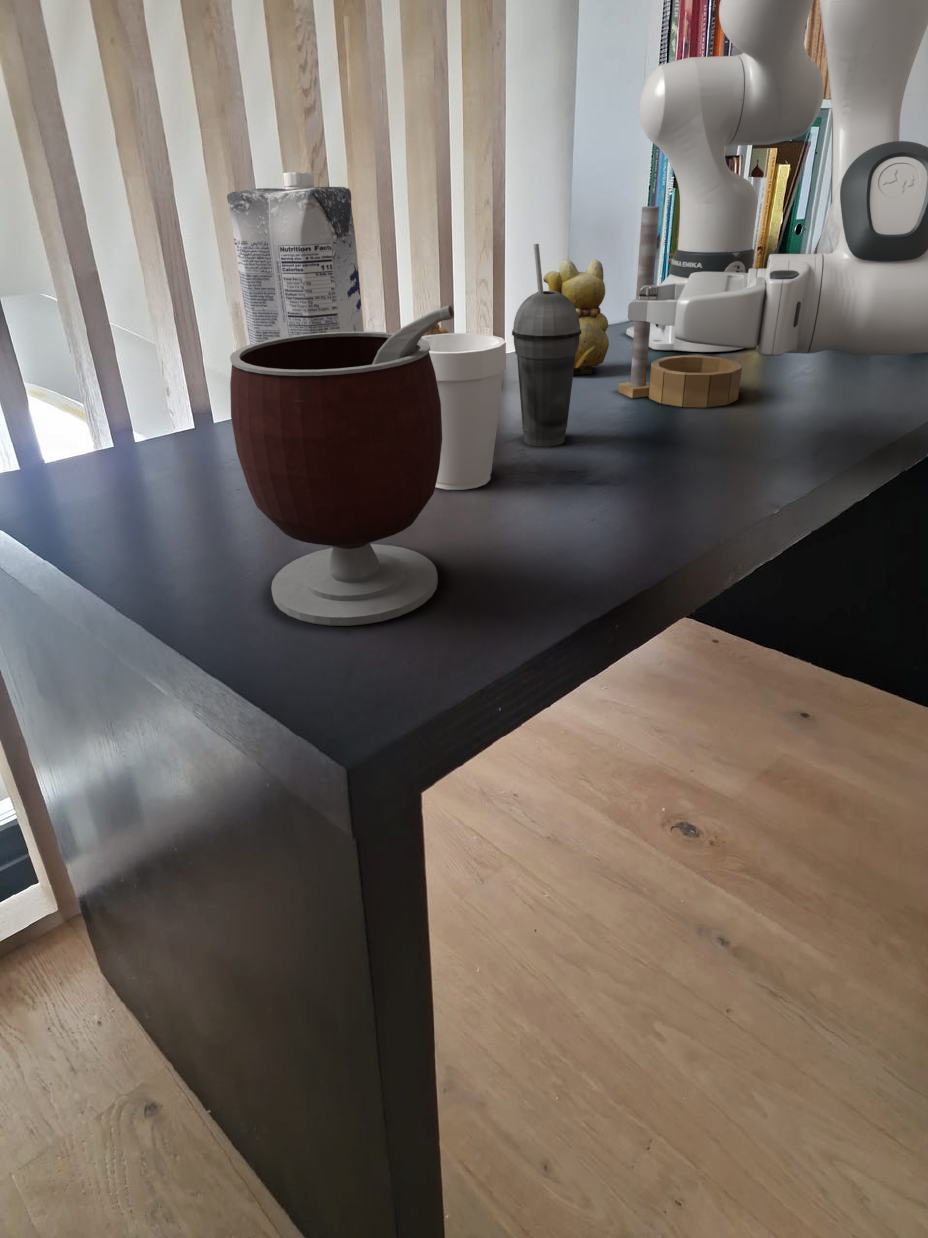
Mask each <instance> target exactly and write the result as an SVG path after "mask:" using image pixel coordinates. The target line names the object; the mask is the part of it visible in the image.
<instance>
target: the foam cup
mask: <svg viewBox="0 0 928 1238" xmlns="http://www.w3.org/2000/svg"><path fill="white" fill-rule="evenodd" d="M421 339H423V340H425V341H427V342H428V343H429V345H430V351H429V353H430V357H431V360H432V364H433V367H434V371H435V375H436V381H437V386H438V391H439V397H440V402H441V420H442V447H441V456H440V466H439V472H438V477H437V481H436V486H435V489H442V490H446V491H449V490H450V491H464V490H469V489H470V490H471V489H476V488H479V487H482V486H485V485H487V484H488V482H490V481H491V474H492V470H493V463H494V455H495V445H496V439H497V437H496V436H497V429H498V423H499V413H500V406H501V405H500V404H501V396H502V388H503V379H504V371H505V370H506V369H507V342H506V341H505V339H504V338H503V337H500V336H497V335H493V334H486V333H474V332H449V333H446V334H435V335H427V336H422V337H421Z"/></svg>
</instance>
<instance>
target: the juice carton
mask: <svg viewBox="0 0 928 1238" xmlns="http://www.w3.org/2000/svg"><path fill="white" fill-rule="evenodd" d="M282 175H283V186H284V188H274V187H273V188H271V187H270V188H269V187H268V188H267V187H266V188H265V187H263V188H252V189H246V190H245V189H244V190H236V191H231V192H230V193H228V194H227V196H226V198H227V202H228V207H229V208H228V209H229V213H230V220H231V226H232V233H233V240H234V241H233V242H234V249H235V254H236V262H237V268H238V275H239V281H240V288H241V295H242V302H243V309H244V316H245V320H246V321H245V322H246V329H247V334H248V341H249V345H251V344H255V343H258V342H262V341H267V340H271V339H276V338H282V337H288V336H296V335H304V334H315V333H328V332H357V331H360V332H365V329H364V320H363V318H364V317H363V309H362V295H361V285H360V273H359V262H358V250H357V240H356V231H355V223H354V216H353V207H352V191H351V189H350V188H348V187H345V186H315V178H314V177H315V175H314V173H312V172H306V171H305V172H303V171H302V172H300V171H293V172H291V171H289V172H283V174H282Z"/></svg>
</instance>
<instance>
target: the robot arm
mask: <svg viewBox="0 0 928 1238" xmlns="http://www.w3.org/2000/svg"><path fill="white" fill-rule="evenodd" d="M814 1H815V0H720V1H719V5H718V6H719V7H718V18H719V24H720V27H721V29H722V32H723V34H724V36H725V37H726V38H727V39H728V41H729V42H730V43H731V44H732V46H734V47H735V48H736V49H737V50H739V51H740V52H742V53H740V54H736V55H722V56H721V55H720V56H718V55H717V56H693V57H692V56H690V57H687V58H682V59H677V60H673V61H670V62H667V63H663V64H660V65H658V66H656V67H655V68H654V70H653V71H652V72H651V73H650V75H649V76H648V78H647V79H646V81H645V83H644V85H643V88H642V90H641V94H640V97H639V107H638V111H639V112H638V113H639V119H640V120H639V121H640V124H641V128H642V130H643V132H644V134H645V135H646V137H647V139H648V140H649V141H650V142H651V143H653V144H654V146H656V147H657V148H658V149H659V150H660V151H661V152H662V153H663V155H664V156H665V157H666V159H667V161H668V162H669V164H670V166H671V168H672V171H673V173H674V175H675V178H676V179H675V180H676V182H677V186H678V191H679V226H678V229H679V230H678V242H677V249H676V250H675V251H674V252H673V253H668V256H671V257H672V258H669V259H667V261H668V262H670V265H669V269H668V274H669V275H668V276H667V277H666V278H665V279H664V280H663V281H662V282H661V283H660V284H659V285H653V286H643V287H642V288H641V290H640V293H639V299H636V298H634V299H632V300H631V301H630V302H629V303H628V306H627V319H628V321H629V322H634V321H642V322H650V336H649V348H650V349H651V350H657V351H679V352H680V351H681V352H694V353H696V352H698V353H717V352H731V351H737V350H743V349H754V348H756V352H757V354H758V355H759V356H764V357H765V356H766V357H779V356H782V355H784V354H803V355H804V354H807V355H808V354H809V355H810V354H817V353H820V352H824V351H840V352H845V353H848V354H851V355H855V356H899V355H900V356H902V355H914V354H915V355H916V354H924V353H928V146H927V145H924V144H921V143H918V142H914V141H908V140H900V129H901V128H900V127H901V126H900V125H901V123H900V122H901V112H902V106H903V102H904V101H903V100H904V97H905V92H906V89H907V85H908V81H909V78H910V75H911V71H912V69H913V66H914V63H915V60H916V58H917V56H918V55H917V54H918V52H919V49H920V46H921V44H922V41H923V39H924V36H925V33H926V30H927V29H928V0H819V8H820V17H821V25H822V31H823V32H822V33H823V38H824V46H825V54H826V55H825V56H826V66H827V74H828V82H829V93H830V102H831V168H830V169H831V170H830V171H831V173H830V175H831V177H830V180H831V181H830V206H829V210H828V214H827V217H826V221H825V223H824V225H823V226H824V227H823V228H822V233H821V235H820V237H819V239H818V241H817V243H816V245H815V248H814V251H813V253H770V254H769V255H768V258H767V264H766V268H753V267H754V264H755V249H754V248H753V243H754V235H755V226H756V220H757V211H758V210H757V209H758V204H759V199H758V193H757V191H756V188H755V187H754V185H753V184H752V183H751V182H750V181H749V180H748V179H746V178H745V177H744V176H742V175H740V174H739V173H737V172H734V171H733V170H731V169H730V168H729V166H728V164H727V160H726V152H725V150H726V148H727V147H735V146H736V147H739V146H741V147H742V146H763V145H764V146H768V145H773V144H778V143H782V142H785V141H790V140H794V139H796V138H800V137H802V136H804V135H805V134H806V133H807V132H808V131H809V130H810V128H811V127H812V126H813V124H814V123H815V121H816V120H817V118H818V116H819V114H820V111H821V109H822V106H823V102H824V96H825V84H824V83H825V82H824V78H823V74H822V72H821V69H820V67H819V66H818V64H817V63H816V61H814V60H813V59H812V58H811V57H810V56H809V54H808V52H807V50H806V46H805V29H806V24H807V22H808V19H809V17H810V16H809V15H810V13H811V10H812V6H813V3H814ZM626 335H627V336H629V337H630V338H632V339H633V335H634V326H631V327H627V329H626Z"/></svg>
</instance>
